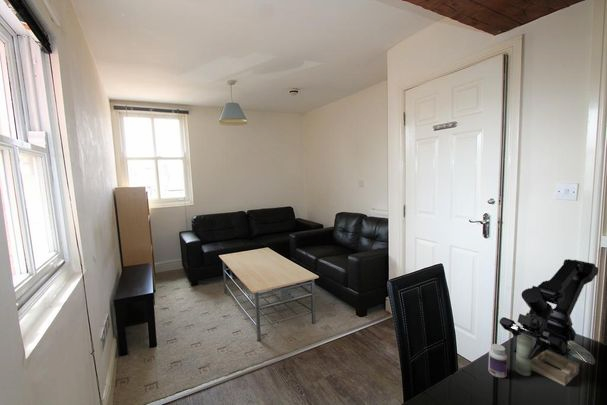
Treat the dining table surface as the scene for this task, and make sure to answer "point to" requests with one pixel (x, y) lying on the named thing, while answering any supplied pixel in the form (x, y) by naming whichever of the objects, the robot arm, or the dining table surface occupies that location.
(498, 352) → the pill bottle
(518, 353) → the peg
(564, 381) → the holder
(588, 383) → the dining table surface
